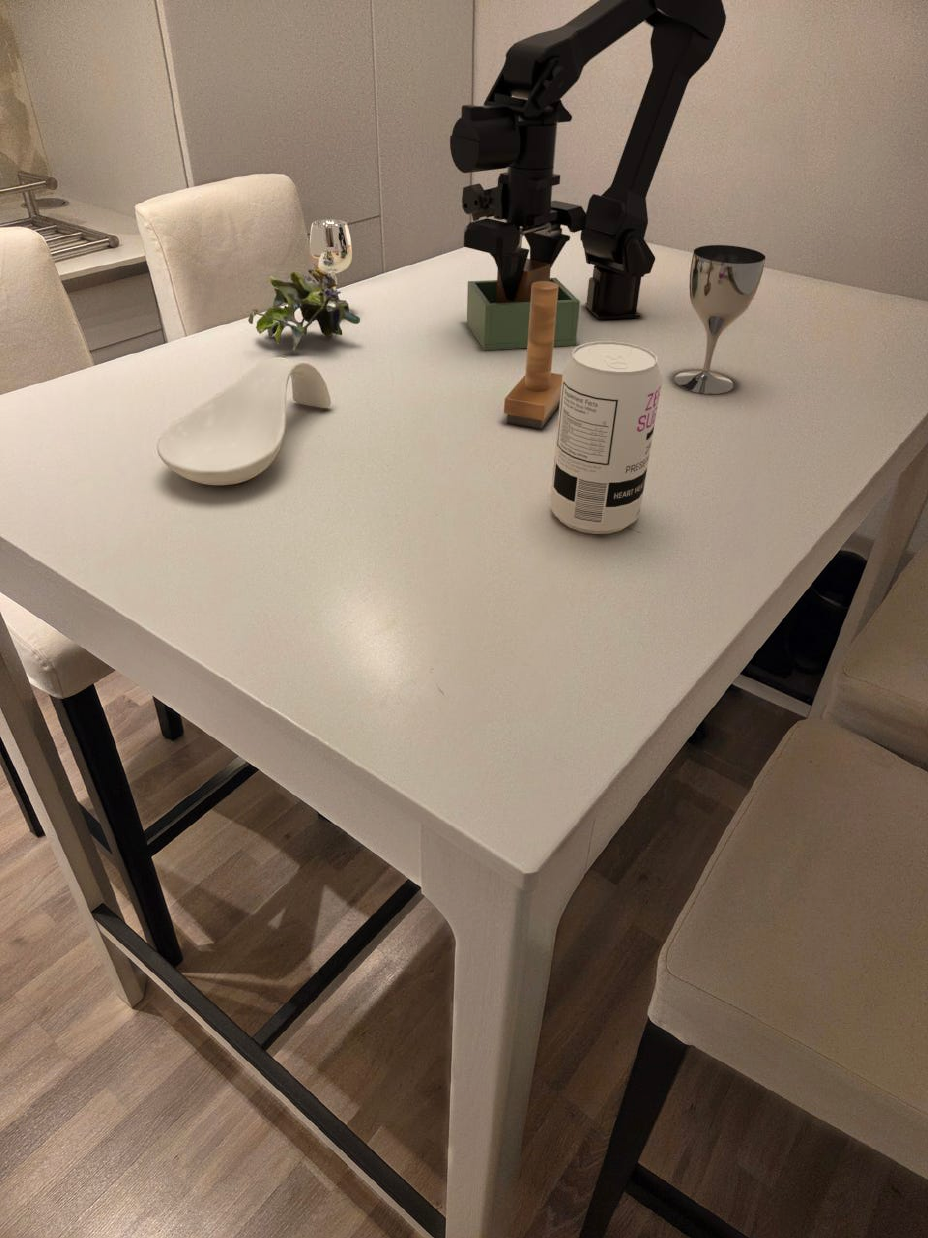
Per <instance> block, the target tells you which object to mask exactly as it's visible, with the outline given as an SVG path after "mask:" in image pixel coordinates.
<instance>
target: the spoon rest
mask: <svg viewBox="0 0 928 1238" xmlns="http://www.w3.org/2000/svg"><path fill="white" fill-rule="evenodd" d="M290 379H291V393H292V400H293V401H294V402H296V403H297V404H300V405H304V406H312V407H316V408H328V407H330V406H331V404H332V402H331V401H332V400H331V396H330V392H329V389H328V385H327V383H326V381H325V379H324V377H323V375H322V374H321V372H320V371H319V370H318V369H317V367H315V365H313V364H311V363H310V362H307V361H303V360H302V361H301V360H299V361H293V360H291V359H289V358H284V357H279V356H278V357H270V358H268V359H265V360H263V361H261V362H260V363H258V364H256V365H255V366H254V367H252V368H251V369H249V371H247V372H245V374H243V375H242V376H241V377H239V378H238V379H236V380H235V381H234V382H232V383H230V384H229V385H228V386H227V387H225V388H224V389H223V390H221V391H220V392H218V393H216V394H215V395H214V396H212V397H211V398H209V399H208V400H206V401H204V402H203V403H201V404H200V405H198V406H197V407H195V408H193V409H192V410H191V411H189V412H188V413H186V414H185V415H183V416H182V417H180V418H179V419H177V420H176V421H174V422H173V423H172V424H171V425H169V426H167V428H166V429H165V430H164V431H163V433H162V434H161V435H160V437H159V438H158V441H157V444H156V449H157V453H158V456H159V458H160V459H161V461H162V462H163V464H164V465H166V466H167V467H168V468H169V469H170V470H172V472H174V473H176V474H178V475H179V476H181V477H183V478H184V479H187V480H189V481H192V482H195V483H198V484H203V485H207V486H230V485H238V484H241V483H244V482H247V481H250V480H252V479H254V478H256V476H258V475H260V474H261V473H263V472H264V471H265V470H266V469H267V468H268V467H270V465H271V464H272V463H273V462H274V461H275V459H276V457H277V456H278V453H279V452H280V450H281V447H282V444H283V441H284V438H285V433H286V427H287V425H286V424H287V390H288V384H289V380H290Z"/></svg>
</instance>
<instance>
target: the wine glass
mask: <svg viewBox="0 0 928 1238" xmlns="http://www.w3.org/2000/svg"><path fill="white" fill-rule="evenodd" d="M765 263H766V256H765V254H763V253H762V252H761V251H758V250H755V249H752V248H749V247H744V246H737V245H729V244H709V245H701V246H698V247H696V248H694V249H693V253H692V259H691V263H690V271H689V285H688V287H689V299H690V304H691V306H692V308H693V310H694V312H695V314H696V315H697V316H698V318H699V320H700V321H701V323H702V325H703V327H704V330H705V333H706V347H705V357H704V362H703V367H702V369H701V370H689V371H682V372H680V373H678V374H677V375H675V377H674V383H675V384H676V385H677V386H678V387H680V388H682V389H683V390H687V391H689V392H694V393H696V394H697V393H698V394H703V395H704V394H705V395H719V394H725V393H728V392H730V391H732V390H733V388H734V382H733V381H732V380H731V379H730V378H728V377H726V376H724V375H722V374H719V373H715V372H711V364H712V360H713V356H714V353H715V349H716V346H717V343H718V340H719V338H720V336H721V335H722V333H723V332H724V331H725V330H726V329H727V328H728V327H729V326H730V325H731V324H733V323H734V322H735V321H736V320H737V319H738V318H740V317H741V316H742V315H744V313H745V312H746V311H747V310H748V309H749V307H750V305H751V304H752V302H753V300H754V297H755V296H756V294H757V291H758V289H759V286H760V284H761V279H762V275H763V272H764V268H765Z"/></svg>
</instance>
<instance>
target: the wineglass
mask: <svg viewBox="0 0 928 1238" xmlns="http://www.w3.org/2000/svg"><path fill="white" fill-rule="evenodd" d="M309 255H310V258H311V262H312V264H313V265H314V267H315V268H316V269H319V270H321V271H322V272H323V273H324V274H326V273H328V274H329V275H330V276H331V277H332V278H333V279H334V280H335V281H336V284H337V285H338V279H337V276H336V274H339V273H342V272H343V271H345V270H346V269H348V268H349V267H350V265H351V263H352V261H353V243H352V238H351V233H350V230H349V225H348V223H347V222H346V221H344V220H339V219H320V220H316V221H313V222H312V223H311V228H310V234H309ZM332 288H333V289H334V290H337V286H335V287H332ZM350 313H352V311H350Z"/></svg>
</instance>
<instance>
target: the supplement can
mask: <svg viewBox="0 0 928 1238" xmlns="http://www.w3.org/2000/svg"><path fill="white" fill-rule="evenodd" d="M562 368H563V369H562V375H563V376H562V386H561V397H560V404H559V406H558V407H559V408H558V417H557V419H558V420H557V429H556V438H555V439H556V440H555V448H554V459H553V468H552V469H553V470H552V481H551V491H550V502H549V505H550V506H549V508H550V510H551V512H552V513H553V515H554V516H555V517H556V518H557V519H558V520H559V521H560V523H562V524H563V525H565V526H566V527H568V528H569V529H572V530H575V531H577V532H580V533H585V534H593V535H609V534H613V533H617V532H621V531H622V530H624V529H626V528H627V527H629V526H630V525H632V524H634V523H635V522H636V521H637V520H638V517H639V516H640V513H641V506H642V501H643V497H644V491H645V489H644V488H645V485H646V484H645V483H646V477H647V472H648V466H649V460H650V456H651V455H650V453H651V449H652V443H653V436H654V432H655V431H654V430H655V426H656V419H657V414H658V413H657V412H658V407H659V400H660V397H661V390H662V384H663V378H662V374H661V370H660V368H659V365H658V358H657V354H656V353H654V352H652V351H651V350H650V349H648V348H645V347H643V346H641V345H637V344H633V343H629V342H623V341H614V340H609V341H608V340H606V341H605V340H603V341H602V340H599V341H592V342H591V341H590V342H586V343H583V344H580V345H578V346H575V348H574V349H573V350H572V351H571V355H570V357H569V358H568V360H567V361H566V363H565V365H564V366H563V367H562Z"/></svg>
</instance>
